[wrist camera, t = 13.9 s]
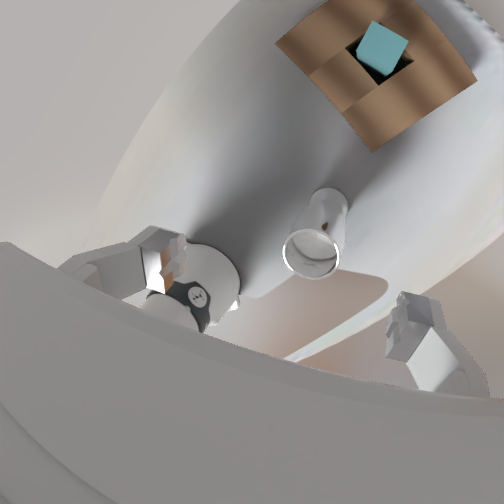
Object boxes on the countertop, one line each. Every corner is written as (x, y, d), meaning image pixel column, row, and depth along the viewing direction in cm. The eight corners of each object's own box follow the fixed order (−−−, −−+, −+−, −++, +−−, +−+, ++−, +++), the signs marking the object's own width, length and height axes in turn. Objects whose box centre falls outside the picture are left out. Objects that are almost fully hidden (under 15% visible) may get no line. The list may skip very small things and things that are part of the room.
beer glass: (353, 224, 44) (345, 280, 32) (311, 227, 47) (287, 282, 35) (347, 182, 41) (338, 224, 29) (303, 187, 44) (274, 229, 32)
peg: (384, 78, 31) (392, 70, 21) (358, 63, 31) (356, 50, 21) (396, 56, 28) (408, 41, 19) (370, 41, 29) (372, 20, 19)
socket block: (370, 144, 36) (371, 152, 32) (286, 50, 33) (274, 43, 29) (463, 81, 26) (477, 80, 21) (377, -17, 23) (378, -32, 18)
